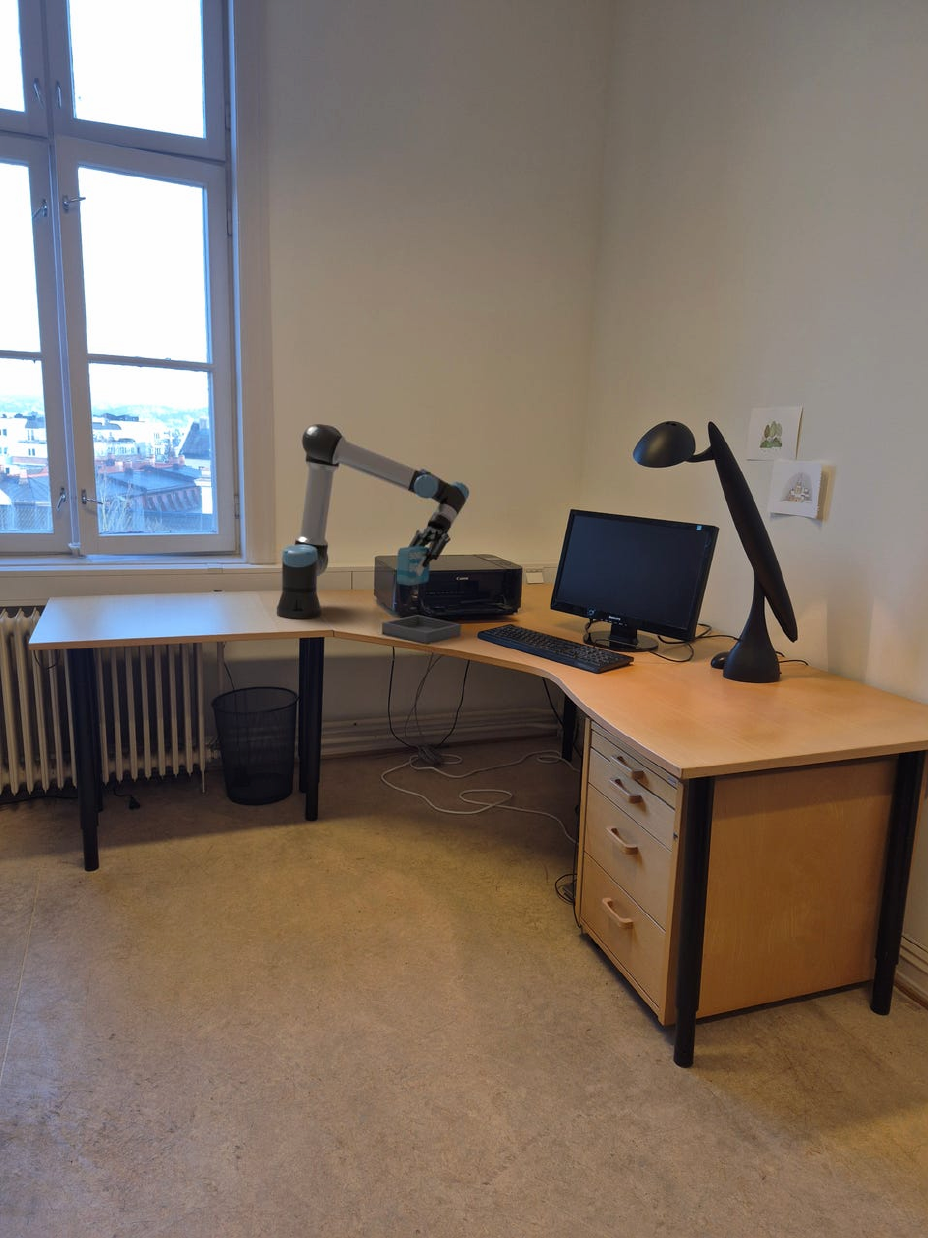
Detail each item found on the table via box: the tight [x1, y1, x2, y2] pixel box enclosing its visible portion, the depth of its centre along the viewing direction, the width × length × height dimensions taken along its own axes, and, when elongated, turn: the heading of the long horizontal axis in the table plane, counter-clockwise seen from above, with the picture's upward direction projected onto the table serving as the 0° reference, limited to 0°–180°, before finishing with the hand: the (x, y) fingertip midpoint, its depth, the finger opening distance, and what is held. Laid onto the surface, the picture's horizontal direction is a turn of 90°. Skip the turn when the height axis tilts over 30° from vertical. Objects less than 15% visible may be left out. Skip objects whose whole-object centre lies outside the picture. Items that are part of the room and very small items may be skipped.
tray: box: [381, 614, 462, 646], centre depth 244 cm, size 18×18×4 cm
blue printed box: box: [396, 546, 431, 587], centre depth 253 cm, size 12×4×12 cm, turn 146°
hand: (411, 572), depth 252 cm, fingers closed on blue printed box, 4 cm apart
